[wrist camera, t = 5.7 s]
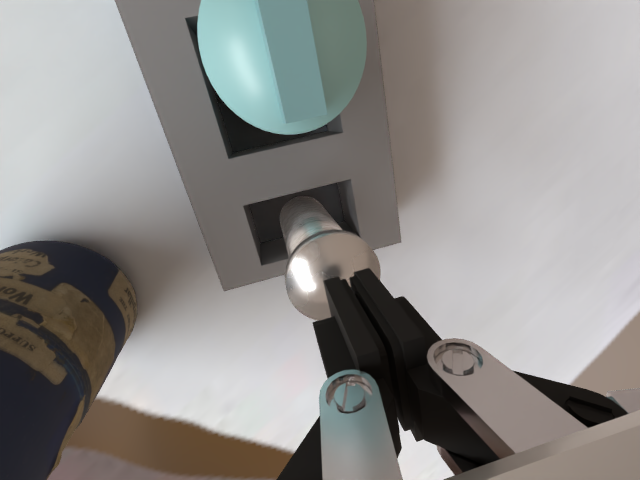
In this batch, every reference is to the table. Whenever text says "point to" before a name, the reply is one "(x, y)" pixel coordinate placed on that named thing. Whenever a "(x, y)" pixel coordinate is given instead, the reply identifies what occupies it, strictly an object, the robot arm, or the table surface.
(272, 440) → the table surface
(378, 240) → the housing
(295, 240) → the plunger
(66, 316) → the canister
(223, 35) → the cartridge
